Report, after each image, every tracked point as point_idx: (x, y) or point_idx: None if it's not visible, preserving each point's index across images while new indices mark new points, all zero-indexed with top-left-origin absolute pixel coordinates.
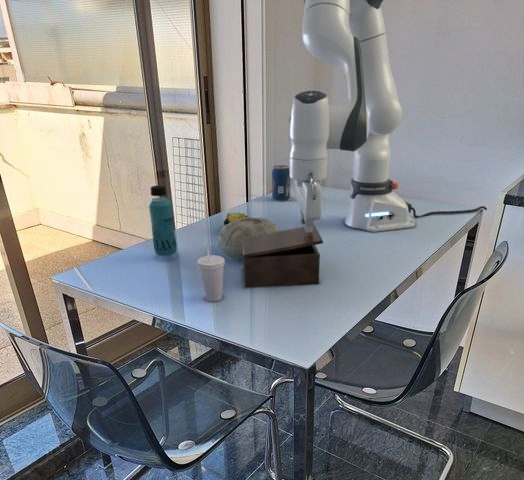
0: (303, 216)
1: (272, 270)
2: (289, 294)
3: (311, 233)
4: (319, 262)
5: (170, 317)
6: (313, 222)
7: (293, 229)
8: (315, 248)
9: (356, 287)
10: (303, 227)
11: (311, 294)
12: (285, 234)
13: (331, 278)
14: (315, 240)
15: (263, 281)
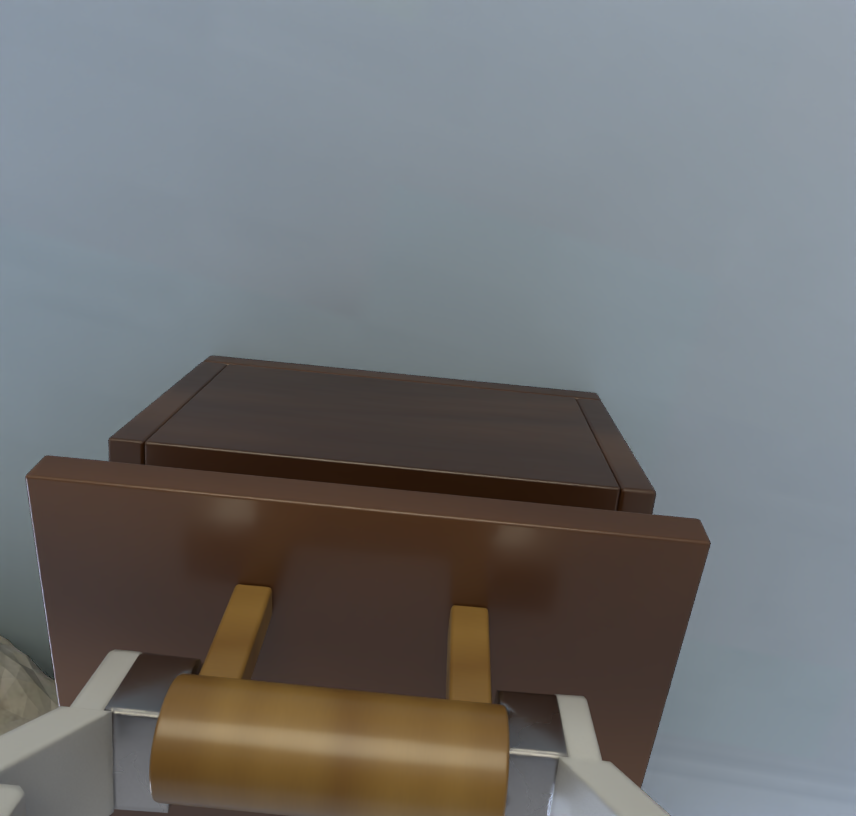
0: (108, 779)
1: None
2: (711, 633)
3: (486, 646)
4: (634, 458)
5: None
6: (659, 806)
7: None
8: (464, 490)
9: (761, 98)
10: (72, 616)
11: (764, 492)
12: (221, 812)
13: (517, 260)
14: (649, 613)
15: None
